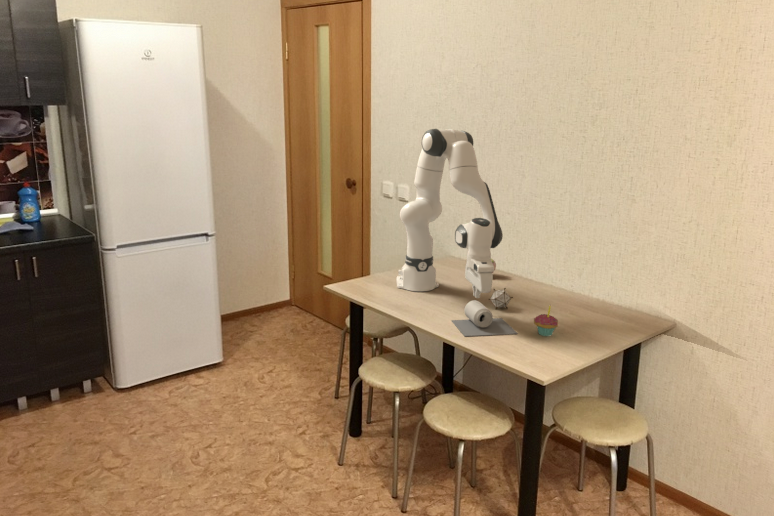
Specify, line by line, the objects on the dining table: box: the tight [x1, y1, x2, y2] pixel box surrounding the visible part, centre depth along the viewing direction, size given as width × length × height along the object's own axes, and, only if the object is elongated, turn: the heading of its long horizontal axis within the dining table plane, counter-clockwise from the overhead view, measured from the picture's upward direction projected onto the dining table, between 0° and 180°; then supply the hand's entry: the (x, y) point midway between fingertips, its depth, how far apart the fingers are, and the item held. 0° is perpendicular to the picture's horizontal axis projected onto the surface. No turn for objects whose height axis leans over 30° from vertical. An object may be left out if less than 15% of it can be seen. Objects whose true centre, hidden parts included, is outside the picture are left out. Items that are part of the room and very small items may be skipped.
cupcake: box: [533, 304, 559, 337], centre depth 235 cm, size 9×8×12 cm
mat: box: [450, 317, 519, 338], centre depth 241 cm, size 16×20×1 cm
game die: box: [488, 287, 514, 310], centre depth 262 cm, size 9×8×10 cm
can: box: [463, 299, 494, 328], centre depth 243 cm, size 8×8×12 cm
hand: (476, 296), depth 249 cm, fingers closed
